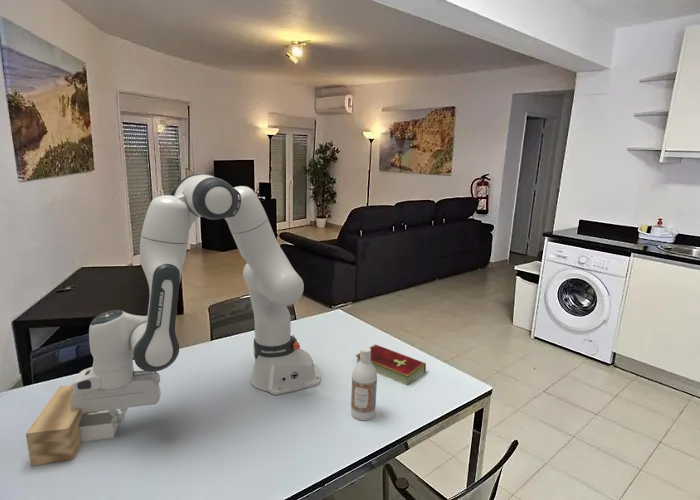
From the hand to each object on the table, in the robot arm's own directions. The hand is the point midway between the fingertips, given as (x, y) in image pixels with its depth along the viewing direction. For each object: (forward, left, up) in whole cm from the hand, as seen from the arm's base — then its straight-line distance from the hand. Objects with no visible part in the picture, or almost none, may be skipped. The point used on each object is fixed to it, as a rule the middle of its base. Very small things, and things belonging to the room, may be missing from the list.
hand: (120, 421), depth 110 cm
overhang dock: (+12, 0, -2) cm, 12 cm away
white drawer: (+8, 0, -2) cm, 8 cm away
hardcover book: (-81, -15, -3) cm, 82 cm away
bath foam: (-64, +8, -2) cm, 65 cm away
